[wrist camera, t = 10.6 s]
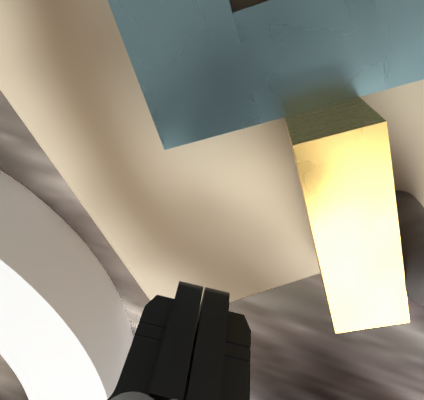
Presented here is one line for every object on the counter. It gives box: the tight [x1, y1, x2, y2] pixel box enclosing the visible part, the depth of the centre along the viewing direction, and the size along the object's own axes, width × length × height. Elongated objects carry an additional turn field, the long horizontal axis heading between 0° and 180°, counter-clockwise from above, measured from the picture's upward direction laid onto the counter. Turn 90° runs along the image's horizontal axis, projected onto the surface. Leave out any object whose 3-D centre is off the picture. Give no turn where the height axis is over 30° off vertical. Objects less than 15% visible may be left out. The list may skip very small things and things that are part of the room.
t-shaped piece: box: [107, 0, 424, 333], centre depth 11 cm, size 18×11×4 cm, turn 17°
